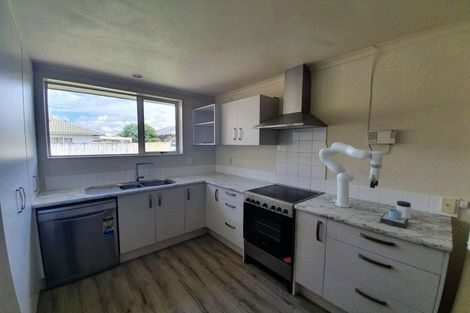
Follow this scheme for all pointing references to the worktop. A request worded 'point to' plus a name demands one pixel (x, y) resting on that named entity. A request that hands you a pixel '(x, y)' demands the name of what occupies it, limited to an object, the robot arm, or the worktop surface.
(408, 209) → the jar
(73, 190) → the worktop surface
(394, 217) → the bowl
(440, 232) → the worktop surface
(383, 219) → the scale
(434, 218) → the worktop surface
